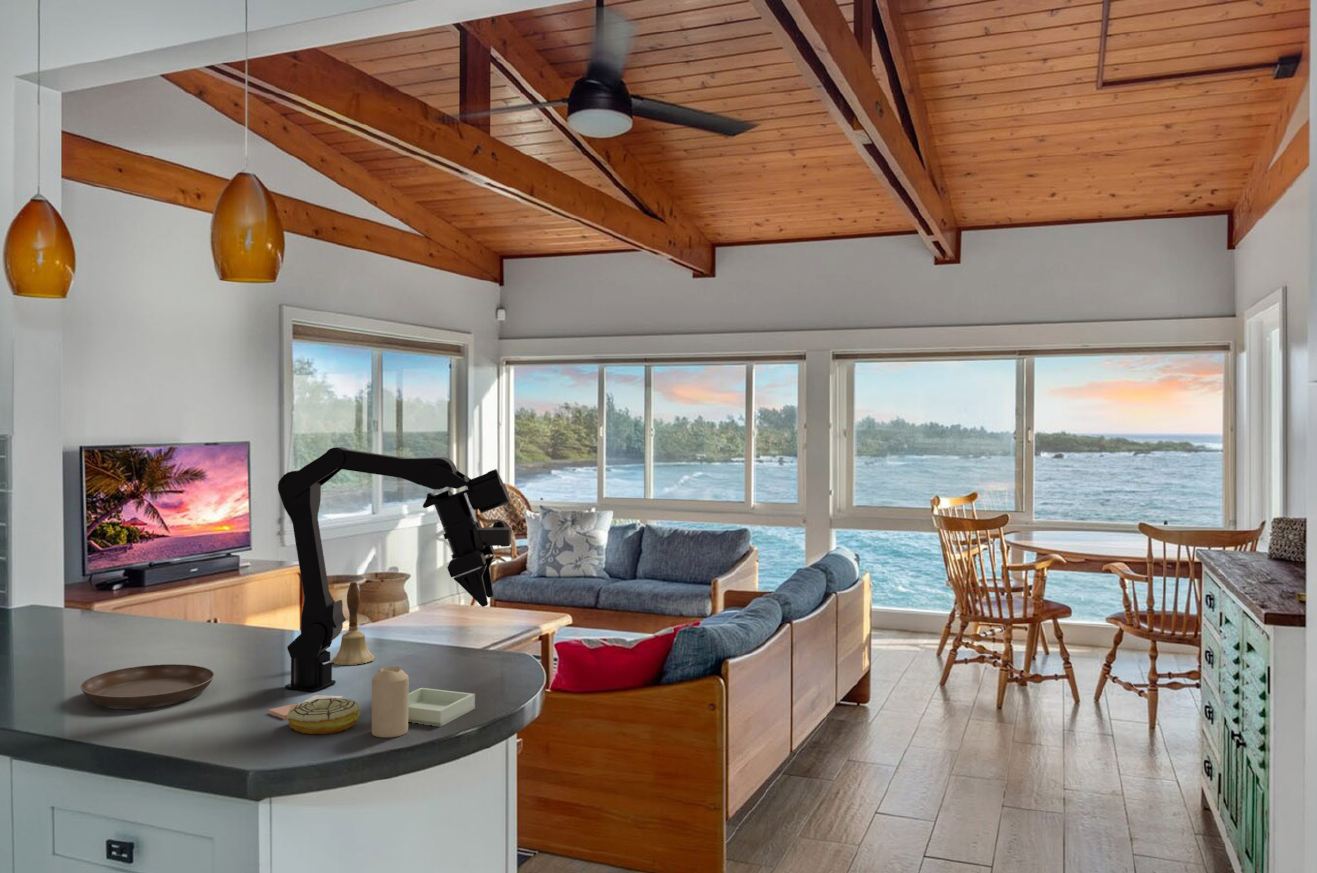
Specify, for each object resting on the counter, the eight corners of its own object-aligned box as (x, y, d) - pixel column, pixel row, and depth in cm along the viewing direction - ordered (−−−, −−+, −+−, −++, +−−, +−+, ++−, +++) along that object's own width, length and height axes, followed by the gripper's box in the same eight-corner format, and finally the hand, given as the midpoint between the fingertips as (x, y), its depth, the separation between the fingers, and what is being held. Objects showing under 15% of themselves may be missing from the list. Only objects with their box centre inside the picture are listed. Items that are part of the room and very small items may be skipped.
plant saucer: (232, 698, 167) (233, 679, 167) (100, 722, 152) (101, 701, 152) (189, 675, 181) (190, 658, 181) (65, 696, 167) (65, 677, 167)
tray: (383, 719, 154) (384, 704, 154) (420, 702, 164) (421, 687, 164) (440, 726, 151) (440, 711, 151) (474, 708, 161) (474, 694, 161)
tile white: (301, 710, 161) (301, 703, 161) (315, 702, 166) (315, 695, 166) (329, 711, 160) (329, 704, 160) (342, 703, 165) (342, 696, 165)
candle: (398, 739, 145) (398, 673, 145) (364, 736, 146) (365, 671, 146) (414, 728, 150) (415, 665, 150) (382, 725, 151) (382, 663, 151)
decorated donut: (317, 714, 158) (318, 691, 158) (372, 721, 154) (373, 698, 154) (273, 733, 148) (273, 708, 148) (331, 740, 144) (331, 715, 144)
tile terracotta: (268, 717, 157) (268, 709, 157) (296, 710, 161) (297, 703, 161) (284, 723, 154) (284, 715, 154) (312, 716, 158) (313, 709, 158)
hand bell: (322, 663, 191) (323, 584, 191) (350, 654, 199) (351, 578, 198) (356, 667, 188) (356, 587, 188) (383, 658, 195) (384, 581, 195)
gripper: (494, 511, 166) (525, 594, 167) (504, 502, 185) (532, 577, 185) (433, 533, 166) (465, 617, 166) (449, 523, 184) (478, 598, 185)
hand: (488, 601), depth 176 cm, fingers open, 9 cm apart
